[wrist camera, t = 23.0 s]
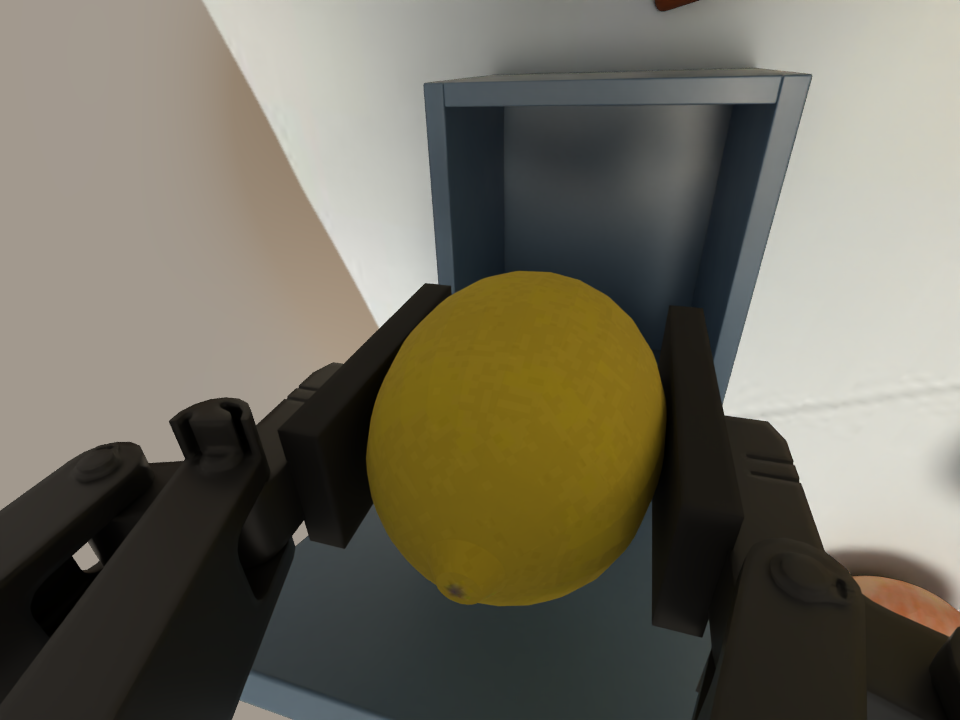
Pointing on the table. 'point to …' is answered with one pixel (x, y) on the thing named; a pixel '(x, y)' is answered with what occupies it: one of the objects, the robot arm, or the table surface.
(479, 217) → the blue-grey hollow box
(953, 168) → the table surface
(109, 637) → the robot arm
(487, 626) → the lid
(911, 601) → the orange pumpkin
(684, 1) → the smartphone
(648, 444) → the lemon
